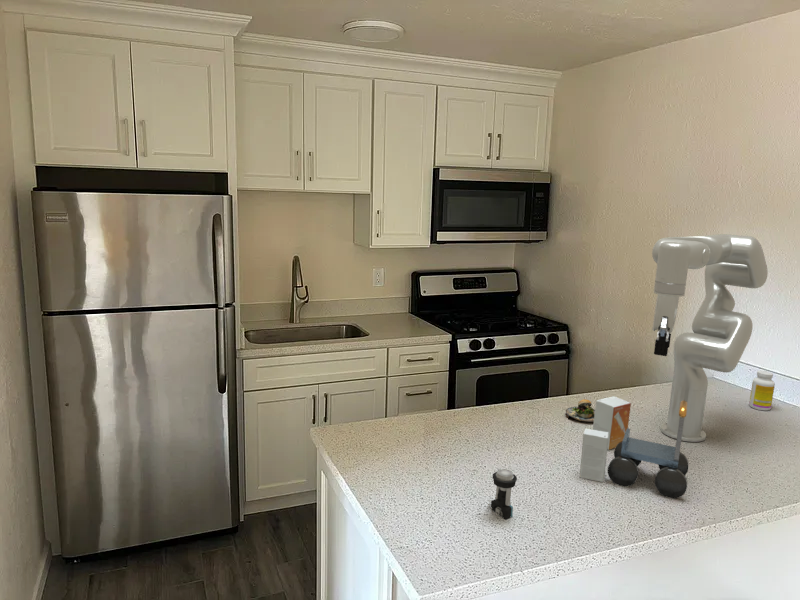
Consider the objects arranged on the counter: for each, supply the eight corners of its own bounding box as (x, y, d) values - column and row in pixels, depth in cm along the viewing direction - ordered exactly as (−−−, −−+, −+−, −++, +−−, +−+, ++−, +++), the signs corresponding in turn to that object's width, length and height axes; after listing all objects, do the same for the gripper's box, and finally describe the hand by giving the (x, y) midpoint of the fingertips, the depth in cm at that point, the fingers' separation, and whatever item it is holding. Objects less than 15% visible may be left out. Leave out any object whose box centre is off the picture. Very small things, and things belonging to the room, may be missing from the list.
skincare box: (604, 475, 154) (609, 432, 151) (603, 482, 150) (608, 438, 147) (580, 470, 156) (584, 427, 153) (578, 477, 152) (583, 433, 150)
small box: (608, 450, 169) (613, 407, 166) (590, 442, 174) (595, 400, 171) (626, 444, 173) (631, 402, 171) (608, 436, 178) (613, 395, 176)
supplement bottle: (774, 411, 205) (780, 376, 203) (755, 410, 205) (761, 375, 203) (763, 404, 212) (769, 370, 209) (744, 403, 212) (750, 369, 209)
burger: (562, 421, 190) (564, 398, 188) (568, 409, 200) (570, 388, 199) (601, 428, 185) (604, 405, 184) (605, 415, 196) (607, 394, 194)
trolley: (613, 461, 162) (622, 386, 158) (686, 478, 154) (697, 399, 150) (606, 482, 150) (615, 401, 146) (684, 501, 142) (696, 417, 138)
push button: (480, 509, 135) (483, 468, 133) (496, 502, 138) (499, 462, 136) (502, 523, 130) (505, 480, 128) (518, 515, 133) (522, 474, 131)
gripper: (656, 283, 167) (649, 342, 170) (651, 291, 152) (643, 356, 155) (686, 286, 164) (678, 346, 167) (683, 295, 149) (675, 361, 152)
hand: (661, 350), depth 161 cm, fingers open, 9 cm apart
